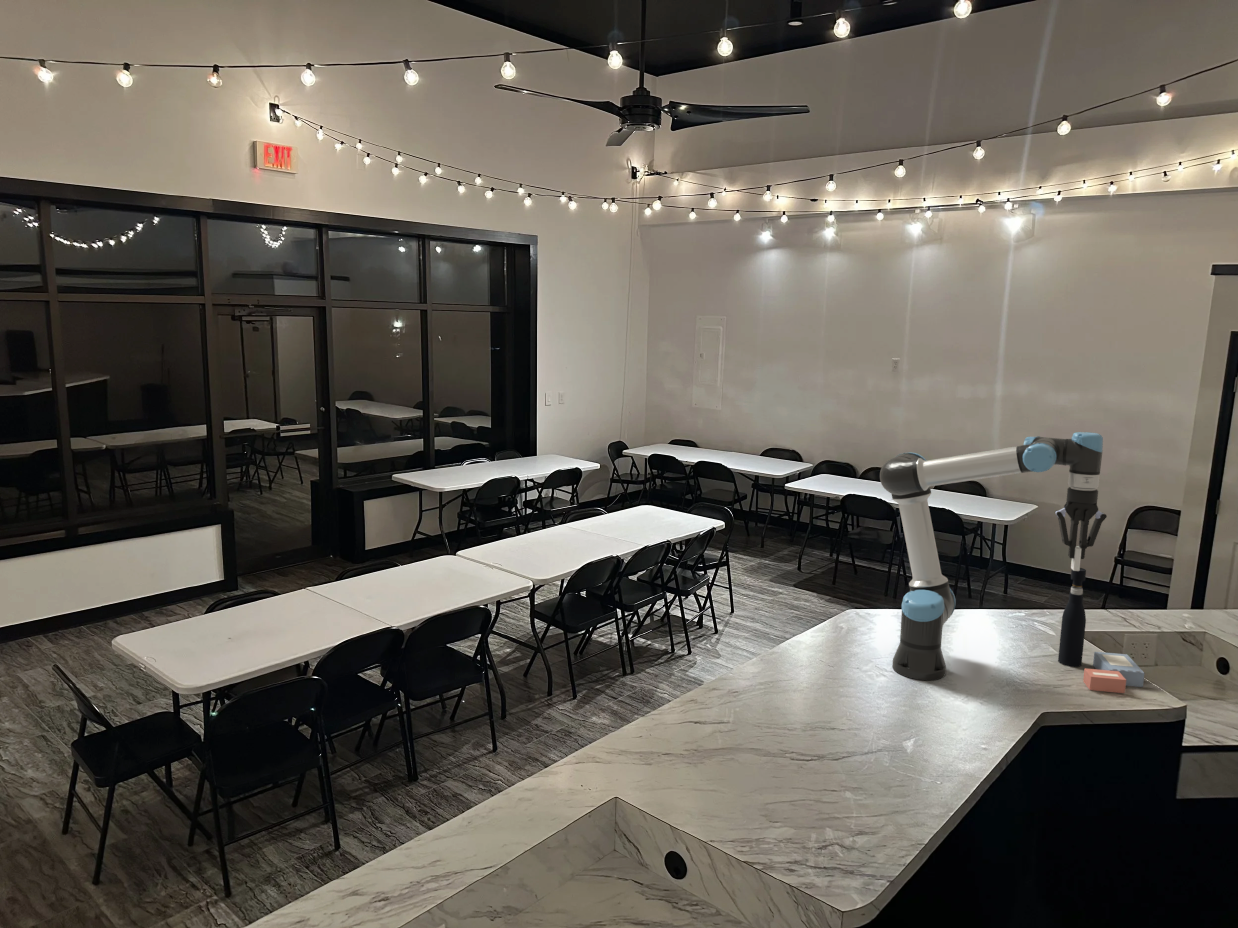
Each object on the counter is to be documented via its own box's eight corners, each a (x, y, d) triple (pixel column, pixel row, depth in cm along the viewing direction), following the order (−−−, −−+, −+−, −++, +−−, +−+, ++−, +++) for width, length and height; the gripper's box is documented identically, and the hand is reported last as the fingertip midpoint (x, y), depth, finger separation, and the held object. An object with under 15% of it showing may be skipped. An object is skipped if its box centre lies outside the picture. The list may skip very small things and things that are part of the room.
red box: (1089, 689, 235) (1091, 676, 234) (1083, 681, 241) (1084, 667, 240) (1124, 693, 233) (1126, 679, 232) (1117, 684, 238) (1118, 670, 238)
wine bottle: (1085, 667, 251) (1095, 572, 246) (1064, 666, 251) (1073, 572, 246) (1074, 658, 257) (1083, 566, 252) (1054, 658, 257) (1062, 565, 253)
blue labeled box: (1108, 683, 239) (1109, 669, 239) (1092, 664, 253) (1094, 651, 252) (1142, 686, 237) (1144, 672, 237) (1125, 667, 251) (1127, 654, 250)
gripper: (1061, 489, 228) (1053, 571, 232) (1113, 491, 225) (1104, 574, 229) (1053, 484, 235) (1046, 564, 239) (1104, 486, 232) (1096, 567, 236)
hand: (1075, 569), depth 234 cm, fingers closed
